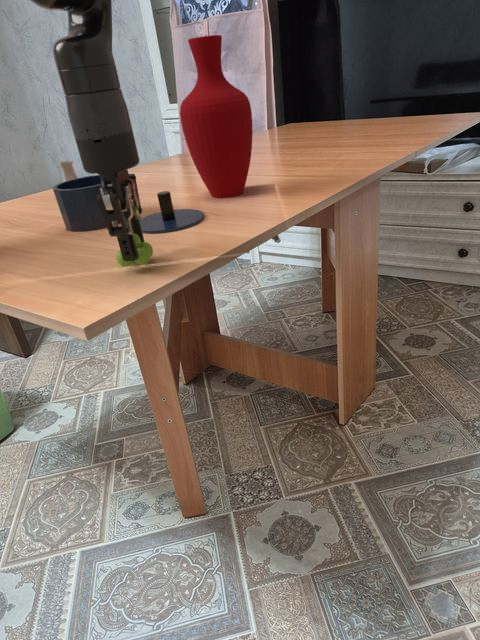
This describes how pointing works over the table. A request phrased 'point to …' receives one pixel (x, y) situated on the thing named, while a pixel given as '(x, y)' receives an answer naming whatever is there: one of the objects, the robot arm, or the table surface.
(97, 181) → the pot
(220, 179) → the vase
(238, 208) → the table surface
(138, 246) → the grapes
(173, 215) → the lid
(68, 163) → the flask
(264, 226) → the table surface
